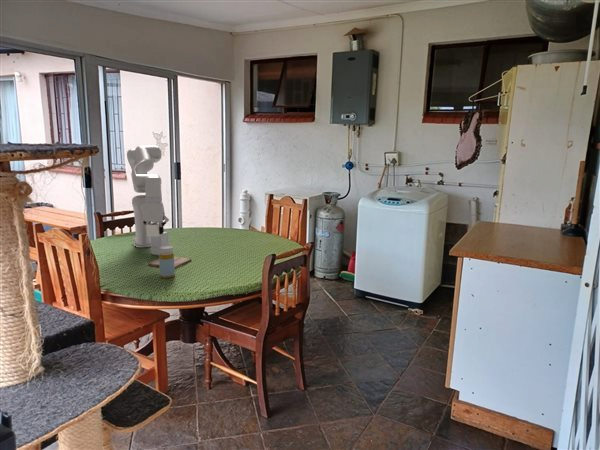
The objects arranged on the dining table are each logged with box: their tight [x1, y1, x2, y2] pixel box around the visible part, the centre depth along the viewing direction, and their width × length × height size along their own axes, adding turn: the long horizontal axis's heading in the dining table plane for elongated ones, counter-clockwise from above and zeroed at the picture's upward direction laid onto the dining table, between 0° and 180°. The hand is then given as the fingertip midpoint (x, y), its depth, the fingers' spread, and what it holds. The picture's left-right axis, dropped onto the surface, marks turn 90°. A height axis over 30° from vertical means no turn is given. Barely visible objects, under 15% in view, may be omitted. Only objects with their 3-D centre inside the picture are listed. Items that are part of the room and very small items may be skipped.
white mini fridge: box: [146, 222, 165, 237], centre depth 221 cm, size 6×7×6 cm
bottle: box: [158, 245, 176, 279], centre depth 206 cm, size 7×7×15 cm
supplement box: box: [150, 231, 170, 256], centre depth 244 cm, size 7×7×13 cm
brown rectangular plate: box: [148, 252, 192, 269], centre depth 227 cm, size 16×16×5 cm
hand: (155, 233), depth 221 cm, fingers closed on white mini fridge, 5 cm apart
